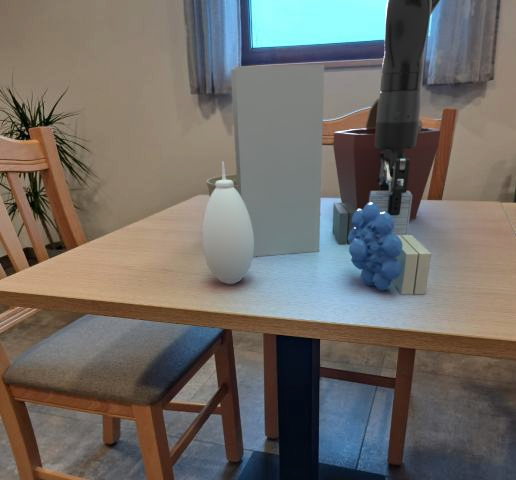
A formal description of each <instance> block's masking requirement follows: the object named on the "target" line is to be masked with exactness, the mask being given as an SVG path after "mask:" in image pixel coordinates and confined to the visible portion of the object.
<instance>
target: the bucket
mask: <svg viewBox="0 0 516 480" xmlns="http://www.w3.org/2000/svg"><path fill="white" fill-rule="evenodd" d="M378 101H379V98H377V99H376V100H375V101H374V102H373V104H372V105H371V107H370V109H369V112H368V114H367V118H366V123H365V128H353V129H352V128H351V129H346V130H340V131H334V132H333V142H332V143H333V146H332V147H333V154H334V161H335V168H336V174H337V181H338V189H339V195H340V196H339V197H340V203H351V205H352V206H353V207H354V209H355V210H356V211H357V210H358V209H364V207H365V206H366V205H367V204H368V203H369V196H370V191H380V188H381V187H379V183H378V181H377V178H378V168H379V157H380V156H379V154H380V152H383V151H385V149H380V148H376V147H375V145H374V144H375V132H376V119H377V107H378ZM440 136H441V130H440V129H437V128H434V127H423V122H422V119H420V118H419V124H418V132H417V141H416V145H415V147H413V148H406V149H405V151H404V152H405V158H410V164H409V174H408V183H407V191H410V193H411V194H412V203H411V211H410V219H409V221H413V220H416V218H417V215H418V211H419V208H420V206H421V202H422V199H423V197H424V196H423V195H424V192H425V190H426V186H427V183H428V180H429V177H430V173H431V171H432V167H433V165H434V161H435V159H436V155H437V152H438V149H439V146H440V145H439V143H440V139H441V137H440ZM396 186H399V184H396Z"/></svg>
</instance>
